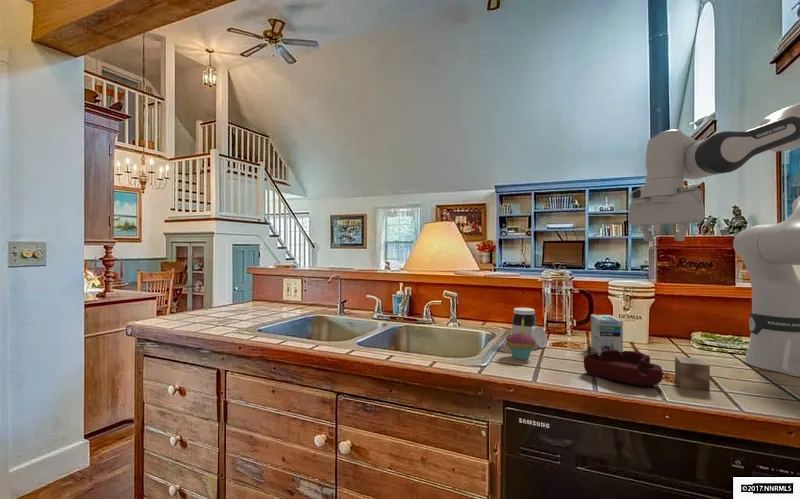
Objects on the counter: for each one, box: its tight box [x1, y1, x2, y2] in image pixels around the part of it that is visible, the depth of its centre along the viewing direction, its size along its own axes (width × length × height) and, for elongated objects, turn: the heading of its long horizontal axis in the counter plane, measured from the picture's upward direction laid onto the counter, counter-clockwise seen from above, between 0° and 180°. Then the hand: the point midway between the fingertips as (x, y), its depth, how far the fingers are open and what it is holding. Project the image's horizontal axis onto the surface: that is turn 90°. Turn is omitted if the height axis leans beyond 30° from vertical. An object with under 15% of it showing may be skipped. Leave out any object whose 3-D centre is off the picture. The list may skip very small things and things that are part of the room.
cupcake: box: [505, 316, 537, 361], centre depth 118 cm, size 9×8×12 cm
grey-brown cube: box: [674, 356, 711, 392], centre depth 94 cm, size 6×6×6 cm
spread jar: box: [511, 307, 548, 349], centre depth 133 cm, size 12×11×12 cm
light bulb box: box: [590, 314, 624, 355], centre depth 125 cm, size 11×7×11 cm, turn 168°
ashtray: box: [583, 350, 664, 389], centre depth 101 cm, size 18×16×5 cm
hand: (663, 241), depth 109 cm, fingers open, 8 cm apart
